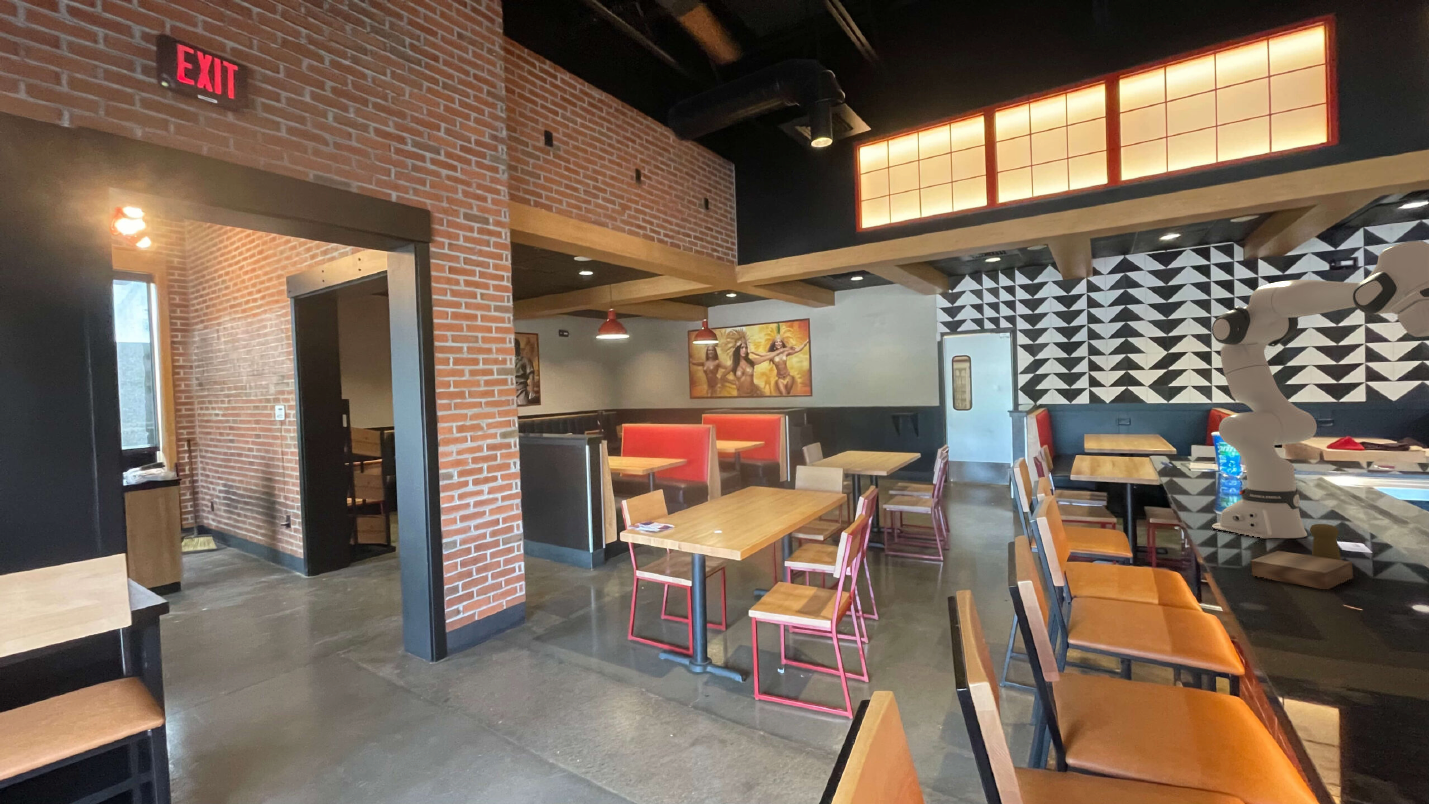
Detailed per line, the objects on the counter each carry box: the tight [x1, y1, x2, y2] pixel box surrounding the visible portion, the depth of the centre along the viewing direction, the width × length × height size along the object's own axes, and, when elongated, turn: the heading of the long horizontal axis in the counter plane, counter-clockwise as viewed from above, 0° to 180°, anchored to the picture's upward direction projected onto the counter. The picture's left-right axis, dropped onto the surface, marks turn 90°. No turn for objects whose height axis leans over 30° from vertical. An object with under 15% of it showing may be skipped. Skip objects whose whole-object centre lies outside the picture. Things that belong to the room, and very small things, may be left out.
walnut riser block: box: [1250, 550, 1354, 590], centre depth 147 cm, size 14×14×4 cm
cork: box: [1309, 523, 1343, 560], centre depth 153 cm, size 6×6×11 cm
